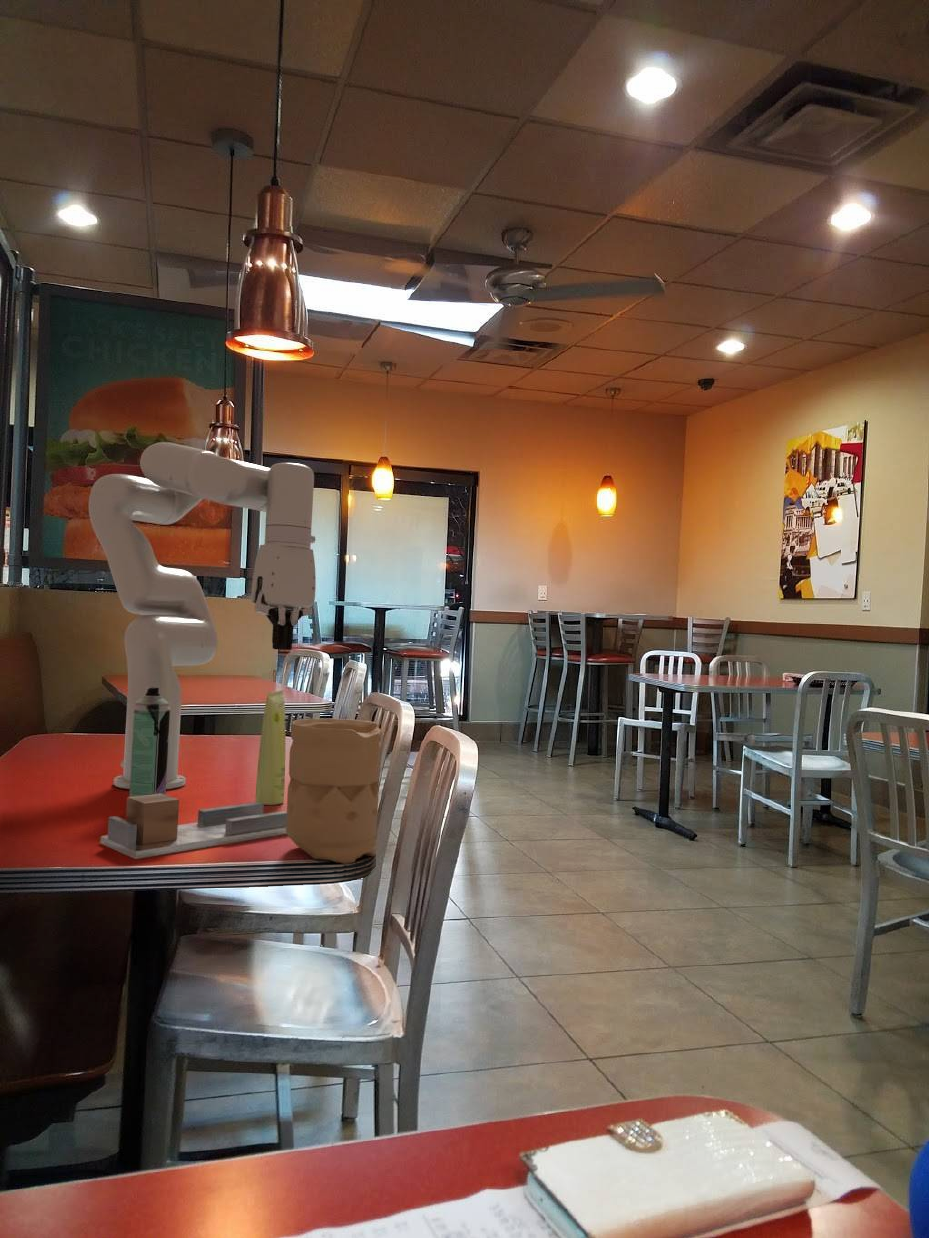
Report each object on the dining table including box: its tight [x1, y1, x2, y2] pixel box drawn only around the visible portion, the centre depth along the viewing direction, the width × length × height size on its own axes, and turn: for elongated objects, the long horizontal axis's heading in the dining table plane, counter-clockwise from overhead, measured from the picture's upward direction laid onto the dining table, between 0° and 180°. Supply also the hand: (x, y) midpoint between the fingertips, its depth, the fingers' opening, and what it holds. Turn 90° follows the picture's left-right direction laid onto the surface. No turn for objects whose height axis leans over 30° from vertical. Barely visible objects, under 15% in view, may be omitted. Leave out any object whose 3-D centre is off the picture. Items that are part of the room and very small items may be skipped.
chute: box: [100, 802, 287, 860], centre depth 127 cm, size 10×25×4 cm, turn 137°
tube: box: [254, 689, 286, 806], centre depth 153 cm, size 6×5×20 cm
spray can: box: [128, 687, 170, 797], centre depth 142 cm, size 6×6×20 cm
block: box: [125, 793, 180, 845], centre depth 121 cm, size 5×5×6 cm
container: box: [286, 717, 383, 865], centre depth 122 cm, size 13×13×18 cm
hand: (282, 649), depth 145 cm, fingers closed
